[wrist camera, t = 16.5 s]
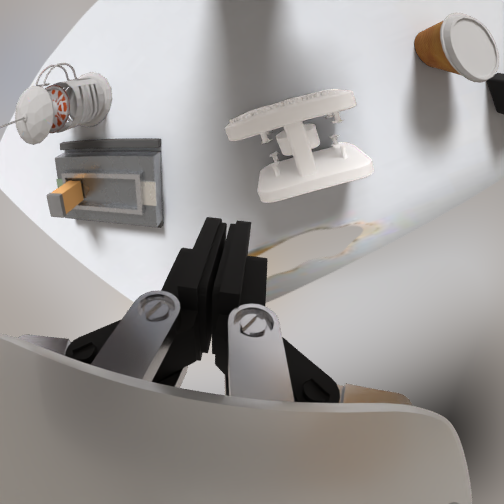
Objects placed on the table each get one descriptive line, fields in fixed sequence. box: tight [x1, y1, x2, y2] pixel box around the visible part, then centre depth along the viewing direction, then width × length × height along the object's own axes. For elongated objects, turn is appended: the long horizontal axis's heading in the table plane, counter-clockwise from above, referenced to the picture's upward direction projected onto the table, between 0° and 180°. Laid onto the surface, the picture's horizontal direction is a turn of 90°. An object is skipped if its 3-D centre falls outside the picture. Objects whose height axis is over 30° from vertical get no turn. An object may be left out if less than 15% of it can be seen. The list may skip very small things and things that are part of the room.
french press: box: [0, 63, 112, 145], centre depth 24 cm, size 10×12×25 cm
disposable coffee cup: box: [414, 13, 499, 82], centre depth 22 cm, size 10×10×12 cm
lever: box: [47, 181, 84, 218], centre depth 38 cm, size 4×3×6 cm
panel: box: [55, 151, 163, 227], centre depth 42 cm, size 12×20×4 cm, turn 84°
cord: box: [60, 139, 161, 150], centre depth 39 cm, size 1×20×1 cm, turn 84°
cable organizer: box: [225, 89, 374, 203], centre depth 33 cm, size 15×11×12 cm
